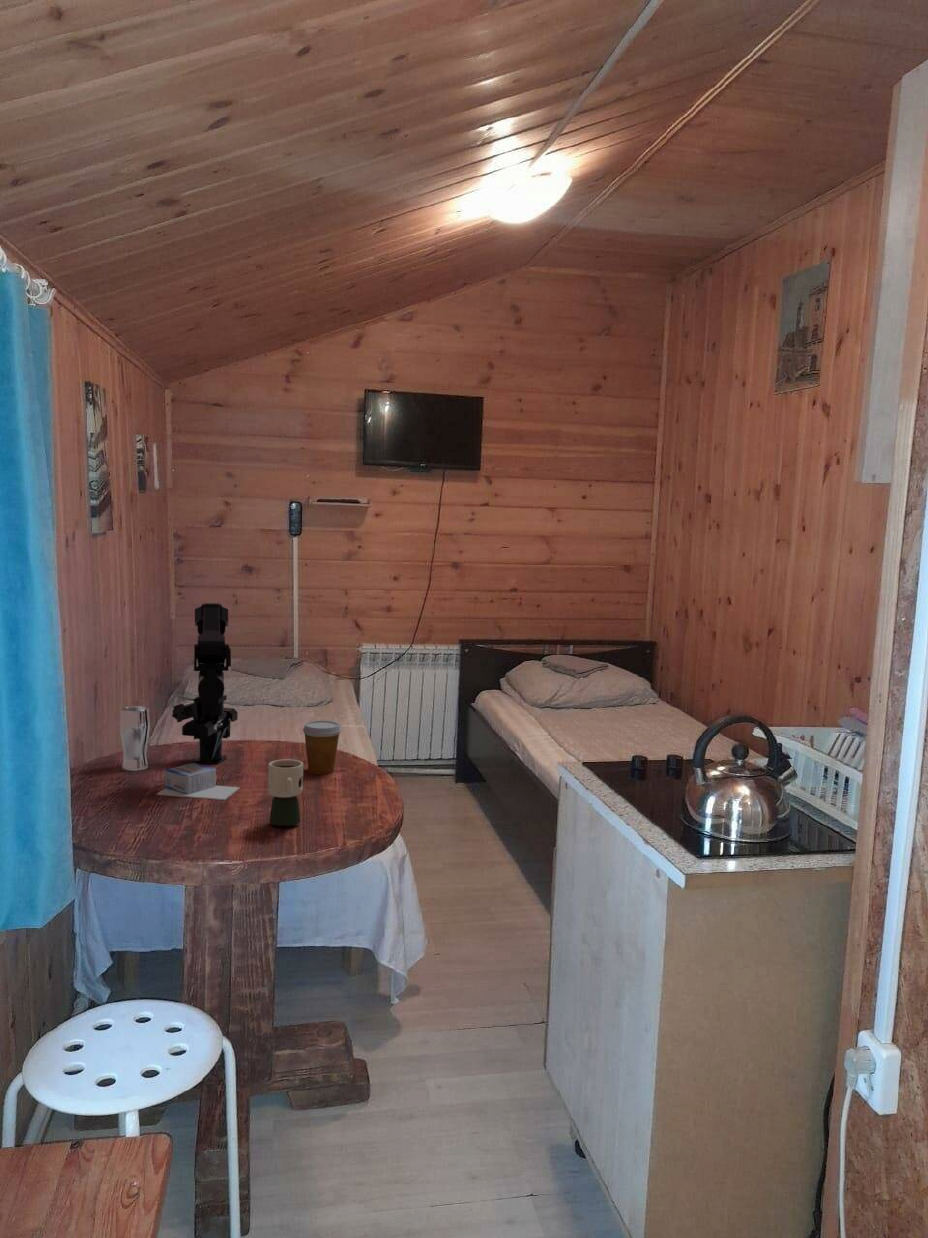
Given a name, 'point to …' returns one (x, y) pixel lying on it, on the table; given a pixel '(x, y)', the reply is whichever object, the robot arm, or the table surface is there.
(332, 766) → the disposable coffee cup
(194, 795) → the mat
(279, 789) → the character mug
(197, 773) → the medicine box
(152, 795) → the table surface
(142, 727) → the beer glass
